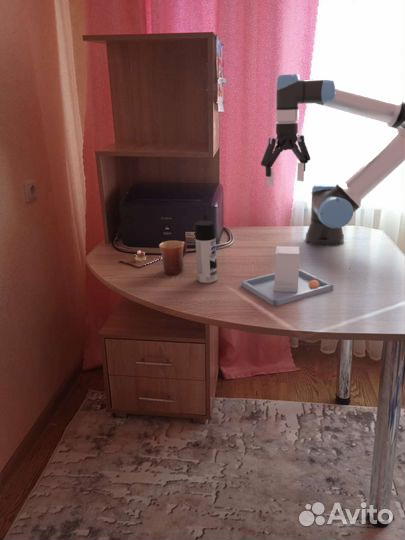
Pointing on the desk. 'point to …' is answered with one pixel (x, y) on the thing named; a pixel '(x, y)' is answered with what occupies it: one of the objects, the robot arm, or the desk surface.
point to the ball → (313, 284)
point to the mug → (173, 256)
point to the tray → (265, 290)
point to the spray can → (206, 251)
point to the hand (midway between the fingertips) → (285, 183)
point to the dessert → (142, 256)
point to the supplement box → (286, 269)
